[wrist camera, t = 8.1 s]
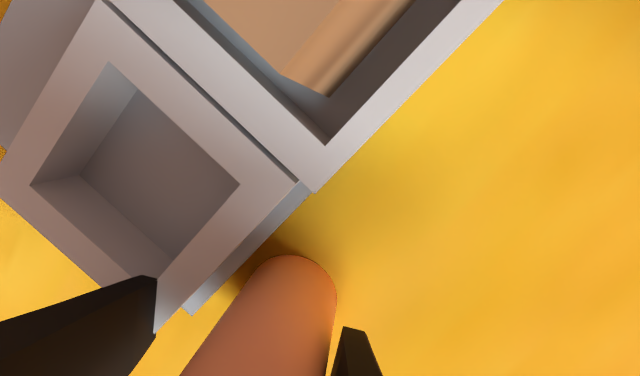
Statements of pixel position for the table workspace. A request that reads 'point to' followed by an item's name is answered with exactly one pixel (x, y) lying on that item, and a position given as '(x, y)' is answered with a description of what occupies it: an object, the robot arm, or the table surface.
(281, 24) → the tan rectangular block
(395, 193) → the table surface
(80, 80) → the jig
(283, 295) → the tail peg
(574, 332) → the table surface
